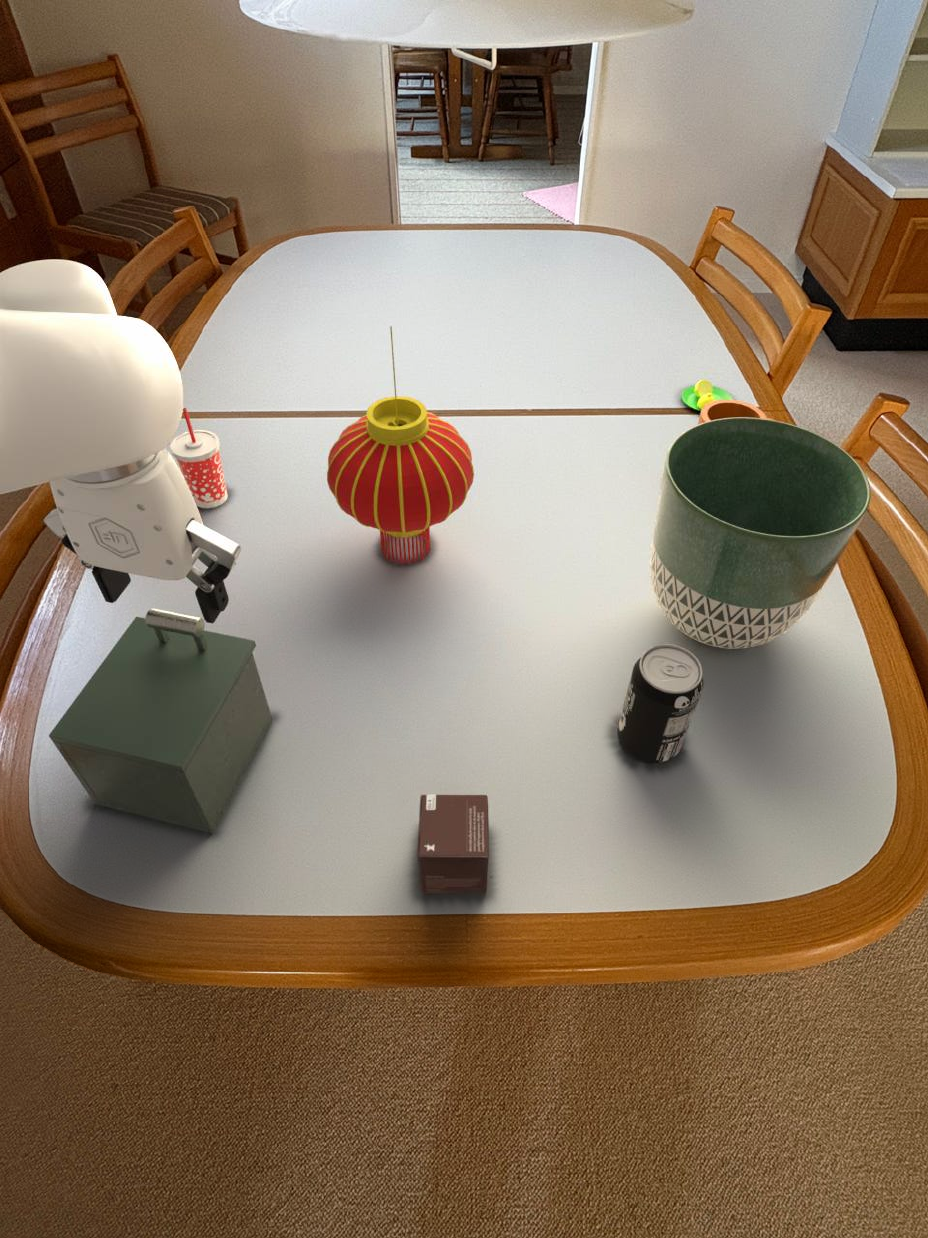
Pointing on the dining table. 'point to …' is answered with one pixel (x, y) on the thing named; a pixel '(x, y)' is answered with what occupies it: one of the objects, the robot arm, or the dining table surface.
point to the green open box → (206, 777)
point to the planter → (750, 527)
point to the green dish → (703, 394)
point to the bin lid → (156, 691)
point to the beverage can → (660, 703)
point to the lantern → (400, 471)
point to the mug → (729, 410)
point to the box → (453, 843)
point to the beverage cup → (201, 465)
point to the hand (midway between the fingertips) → (167, 601)
